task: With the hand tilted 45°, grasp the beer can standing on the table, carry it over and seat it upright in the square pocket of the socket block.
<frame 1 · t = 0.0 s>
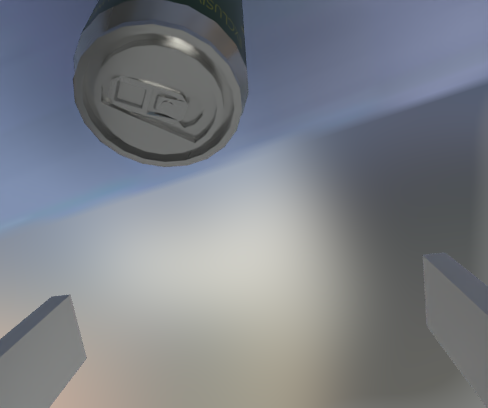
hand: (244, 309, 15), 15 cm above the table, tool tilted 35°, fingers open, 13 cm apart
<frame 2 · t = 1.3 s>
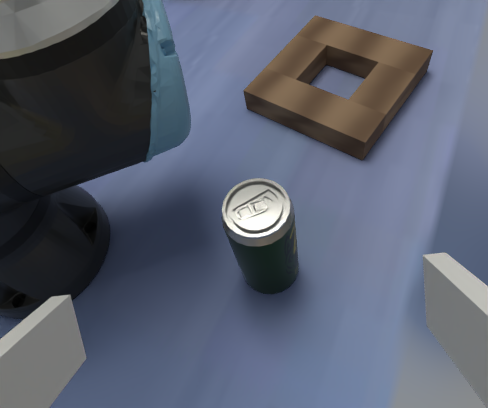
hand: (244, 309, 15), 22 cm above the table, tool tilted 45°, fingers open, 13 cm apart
beer can: (271, 270, 39), on the table
socket block: (335, 90, 50), on the table
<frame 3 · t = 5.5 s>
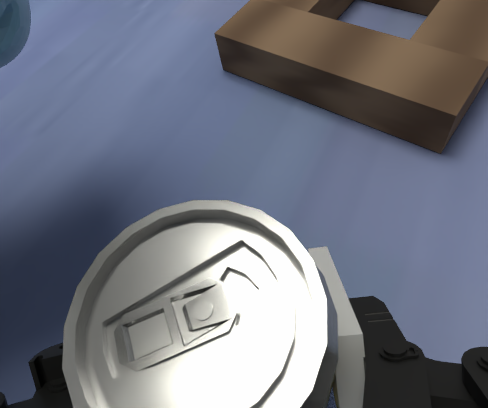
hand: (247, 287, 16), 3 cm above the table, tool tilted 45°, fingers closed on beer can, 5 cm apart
beer can: (264, 395, 17), on the table, touching gripper
socket block: (376, 35, 29), on the table
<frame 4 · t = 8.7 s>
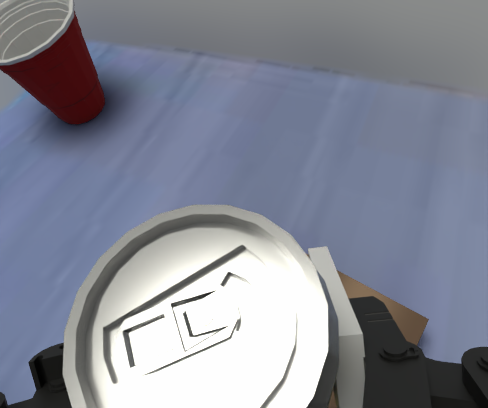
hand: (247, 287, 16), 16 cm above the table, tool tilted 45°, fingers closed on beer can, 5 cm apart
beer can: (264, 398, 17), point 12 cm above the table, touching gripper
plastic cup: (82, 109, 48), on the table
socket block: (270, 363, 30), on the table
when the fingers open (5 cm above the table, at t = 12.0 s): beer can drops 1 cm, resting in socket block.
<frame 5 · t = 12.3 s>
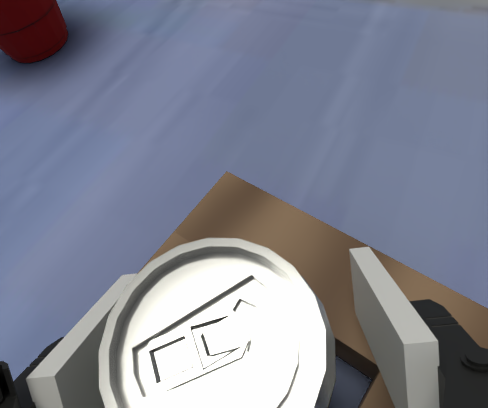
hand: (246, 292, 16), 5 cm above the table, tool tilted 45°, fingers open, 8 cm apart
beer can: (267, 402, 19), resting in socket block
plastic cup: (38, 46, 38), on the table
socket block: (267, 398, 19), on the table
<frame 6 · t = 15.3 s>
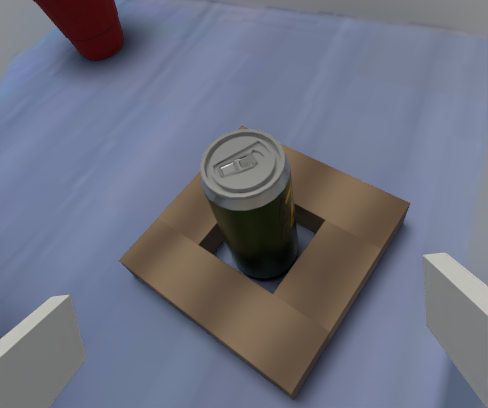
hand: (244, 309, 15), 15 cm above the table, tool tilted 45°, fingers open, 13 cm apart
beer can: (265, 251, 33), resting in socket block
plastic cup: (102, 48, 52), on the table
socket block: (265, 249, 33), on the table
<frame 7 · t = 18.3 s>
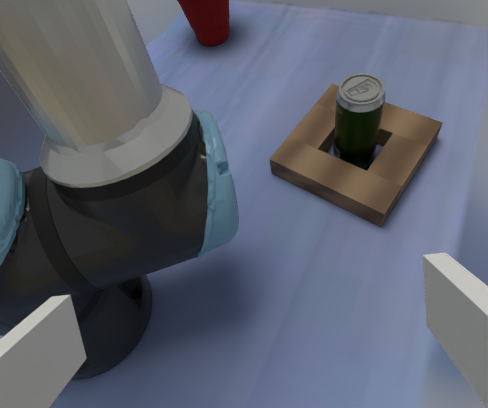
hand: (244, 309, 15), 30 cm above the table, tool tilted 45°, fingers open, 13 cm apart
beer can: (353, 157, 54), resting in socket block
plastic cup: (213, 38, 73), on the table
socket block: (353, 155, 54), on the table
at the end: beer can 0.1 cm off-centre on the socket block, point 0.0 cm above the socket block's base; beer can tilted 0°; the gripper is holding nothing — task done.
